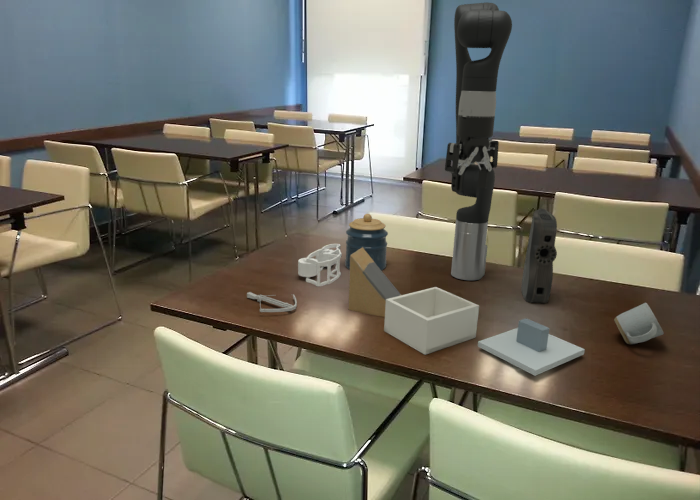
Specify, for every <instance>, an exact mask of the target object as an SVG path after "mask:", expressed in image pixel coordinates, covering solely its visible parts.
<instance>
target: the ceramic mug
mask: <svg viewBox="0 0 700 500" xmlns="http://www.w3.org/2000/svg"><path fill="white" fill-rule="evenodd" d="M613 321H614V323H615V324H616V327H617V328H618V331H619V332H620V334H621V336H622V338H623V340H624V342H625V343H626V344H627V345H636V344H638V343H644V342H647V341H649V340H651V339H654V338H657V337H660V336H662V335H664V331H663V328H662V327H661V325H660V323H659V322H658V319H657V317H656V316H655V314H654V312H653V311H652V309H651V307H650V305H649V304H648V303H647V302H644V303H642V304H640V305H638V306H634V307H633V308H631V309H628V310H626V311H624V312H622V313H620V314H618V315H617V316H615V317H614V320H613Z"/></svg>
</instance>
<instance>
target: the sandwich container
mask: <svg viewBox="0 0 700 500" xmlns="http://www.w3.org/2000/svg"><path fill="white" fill-rule="evenodd" d="M348 281H349V283H348V285H349V286H348V311H352V312H356V313H362V314H365V315H366V314H367V315H371V316H376V317H377V316H378V317H382V318H385V306H386V299H389V298H393V297H397V296H401V295H402V294H401V292H400V291H399V290H398V289H397V288H396V287H395V286H394V284H393V283H392V282H391V280H390V279H389V278H388V276H387V275H386V274H385V273H384V272H383V270H380V268H379V267H378V266H377V265H376V263H375V262H374V261H373V260H372V258H371V257H370V256H369V255H368V253H367V252H366V251H365V250H364V248H363V247H362V248H361V249H359V250H357V251H356V252H354V253H353V254H351V255H350V270H349V279H348Z"/></svg>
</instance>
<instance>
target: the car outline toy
mask: <svg viewBox="0 0 700 500" xmlns="http://www.w3.org/2000/svg"><path fill="white" fill-rule="evenodd" d="M335 248H336V249H335ZM334 249H335V250H334ZM314 257H315V258H314ZM341 258H342V252H341V244H340V243H330V244H327V245H323V246H322V247H321V248H319V249H316V250H315V251H313V252H311V253H309V254H308V255H307V256H306V257H302V258H299V259H298V260H297V261H298V262H297V264H298V265H297V271H298V273H297V274H298V276H300V277H303V278H305V282H306V283H309V284H312V285H314V286H316V287H323V286H326V285H330V284H332V283H334V282H335V281H337V279H339V278H340V276H341V275H342V272H341V271H340V269H341V267H340V266H341V265H340V264H341ZM332 266H335V268H334V269H333V270H332ZM325 267H326V268H327V269H326V270H327V271H326V272H327V273H326V275H327V277H326V280H324V281H322V282H321V271H323V269H324V268H325ZM335 272H336V274H334V273H335ZM315 276H317V278H316V280H314V279H311V277H315Z"/></svg>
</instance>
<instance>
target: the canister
mask: <svg viewBox="0 0 700 500" xmlns="http://www.w3.org/2000/svg"><path fill="white" fill-rule="evenodd" d="M348 226H349V228H348V229H347V230H346V231H345V233H346V235H347V238H346V241H345V259H344V264H345V265H344V266H345V268H346V269H348V270H349V271H350V255H351V254H353V253H354V252H356V251H357V250H359V249H361V248H362V247H363V248H364V250H365V251H366V252H367V253H368V255H369V256H370V257H371V258H372V260H373V261H374V262H375V263H376V265H377V266H378V267H379V268H380V270H381V271H383V270H385V269H386V268H387V246H388V241H387V236H388V235H389V232H388V231H387V230H386V229H385V228H386V224H385V223H383V222H382V221H381V220H380V219H377V218H373V217H372V215H371V214H370V213H365V214H364V215H363V217H362V218H355V219H354V220H353V221H351V222H349V223H348Z"/></svg>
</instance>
